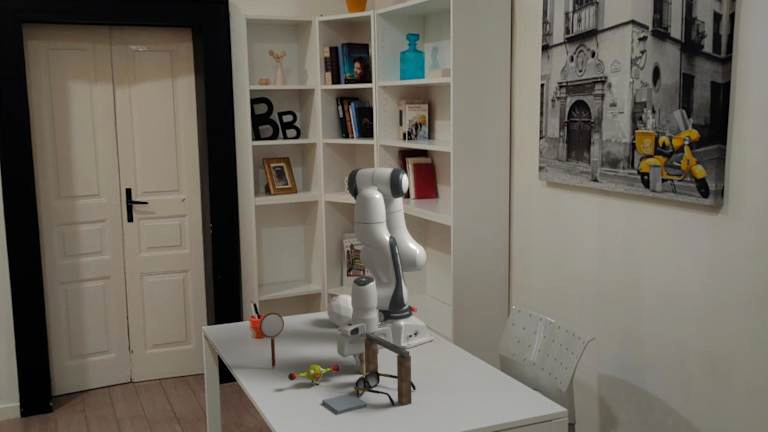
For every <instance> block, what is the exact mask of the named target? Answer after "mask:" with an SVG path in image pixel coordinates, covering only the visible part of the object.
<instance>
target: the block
mask: <svg viewBox="0 0 768 432" xmlns="http://www.w3.org/2000/svg"><path fill="white" fill-rule="evenodd" d="M358 359H360V360H361V361H362V366H357V371H358V372H359V373H361V374H362V375H365V351H364V352H363V353H361V354H359V357H358Z"/></svg>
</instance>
